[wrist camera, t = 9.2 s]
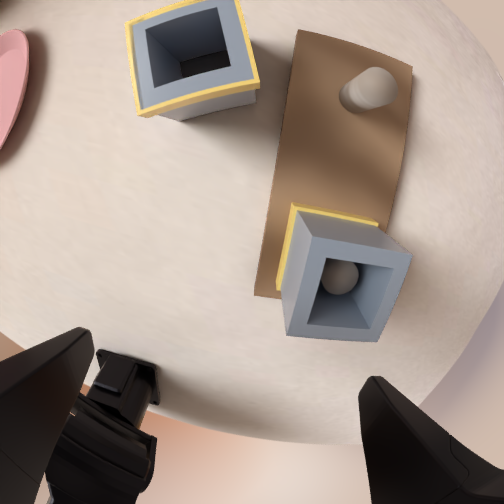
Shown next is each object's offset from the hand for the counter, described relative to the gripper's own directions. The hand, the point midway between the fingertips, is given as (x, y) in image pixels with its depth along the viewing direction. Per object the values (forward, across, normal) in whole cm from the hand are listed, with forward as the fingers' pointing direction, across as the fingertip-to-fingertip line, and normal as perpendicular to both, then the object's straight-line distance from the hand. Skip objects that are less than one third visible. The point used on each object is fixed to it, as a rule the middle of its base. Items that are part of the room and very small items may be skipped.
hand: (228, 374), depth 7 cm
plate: (+12, +27, -11) cm, 32 cm away
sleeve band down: (+11, -5, -1) cm, 12 cm away
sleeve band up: (+12, +4, -11) cm, 16 cm away
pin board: (+12, -5, -6) cm, 14 cm away
